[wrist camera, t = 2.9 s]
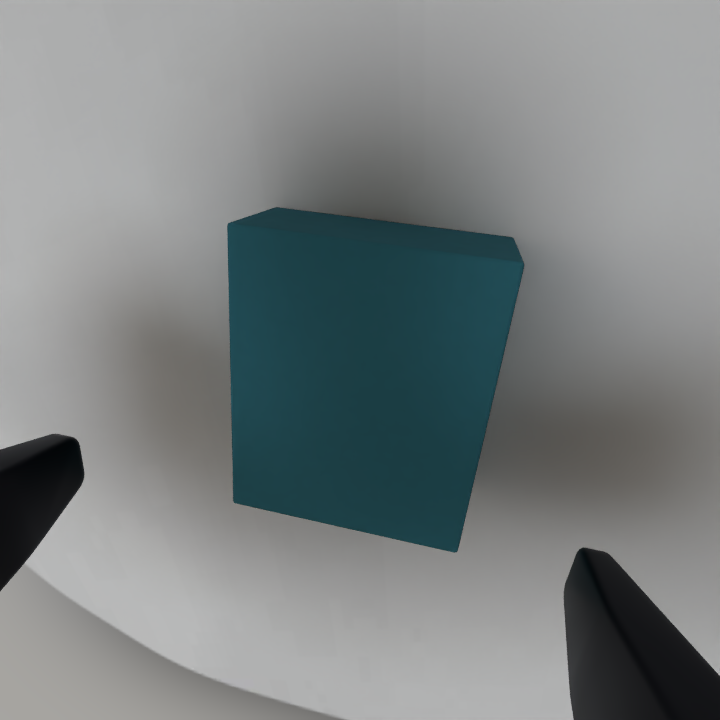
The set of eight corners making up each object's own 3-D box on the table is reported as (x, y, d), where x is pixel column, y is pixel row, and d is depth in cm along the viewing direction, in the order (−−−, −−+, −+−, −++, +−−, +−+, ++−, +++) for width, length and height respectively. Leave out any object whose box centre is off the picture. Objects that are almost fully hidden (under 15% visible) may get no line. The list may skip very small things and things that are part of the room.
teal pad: (460, 485, 16) (457, 554, 13) (270, 446, 17) (232, 503, 14) (514, 237, 13) (525, 263, 10) (274, 206, 14) (225, 222, 11)
